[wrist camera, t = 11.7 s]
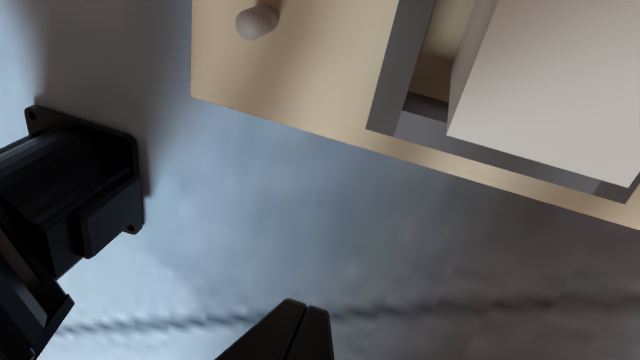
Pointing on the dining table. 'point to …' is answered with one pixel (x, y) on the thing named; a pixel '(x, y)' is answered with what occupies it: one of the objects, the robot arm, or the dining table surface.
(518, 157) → the header board
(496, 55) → the plug
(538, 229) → the dining table surface
